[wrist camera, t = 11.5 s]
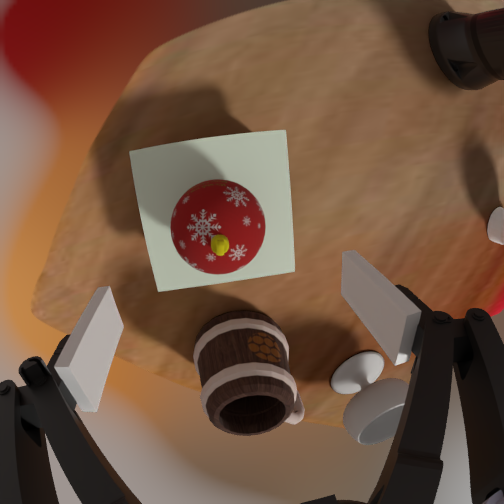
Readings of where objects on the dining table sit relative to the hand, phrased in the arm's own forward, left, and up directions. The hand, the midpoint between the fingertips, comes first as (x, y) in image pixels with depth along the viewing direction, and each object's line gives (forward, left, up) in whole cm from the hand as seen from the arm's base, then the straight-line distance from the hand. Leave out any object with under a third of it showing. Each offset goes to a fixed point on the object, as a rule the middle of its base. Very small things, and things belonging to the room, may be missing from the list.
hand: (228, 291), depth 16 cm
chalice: (+38, +23, -25) cm, 51 cm away
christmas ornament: (0, 0, -17) cm, 17 cm away
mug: (+26, +2, -25) cm, 36 cm away
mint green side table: (0, 0, -24) cm, 24 cm away
